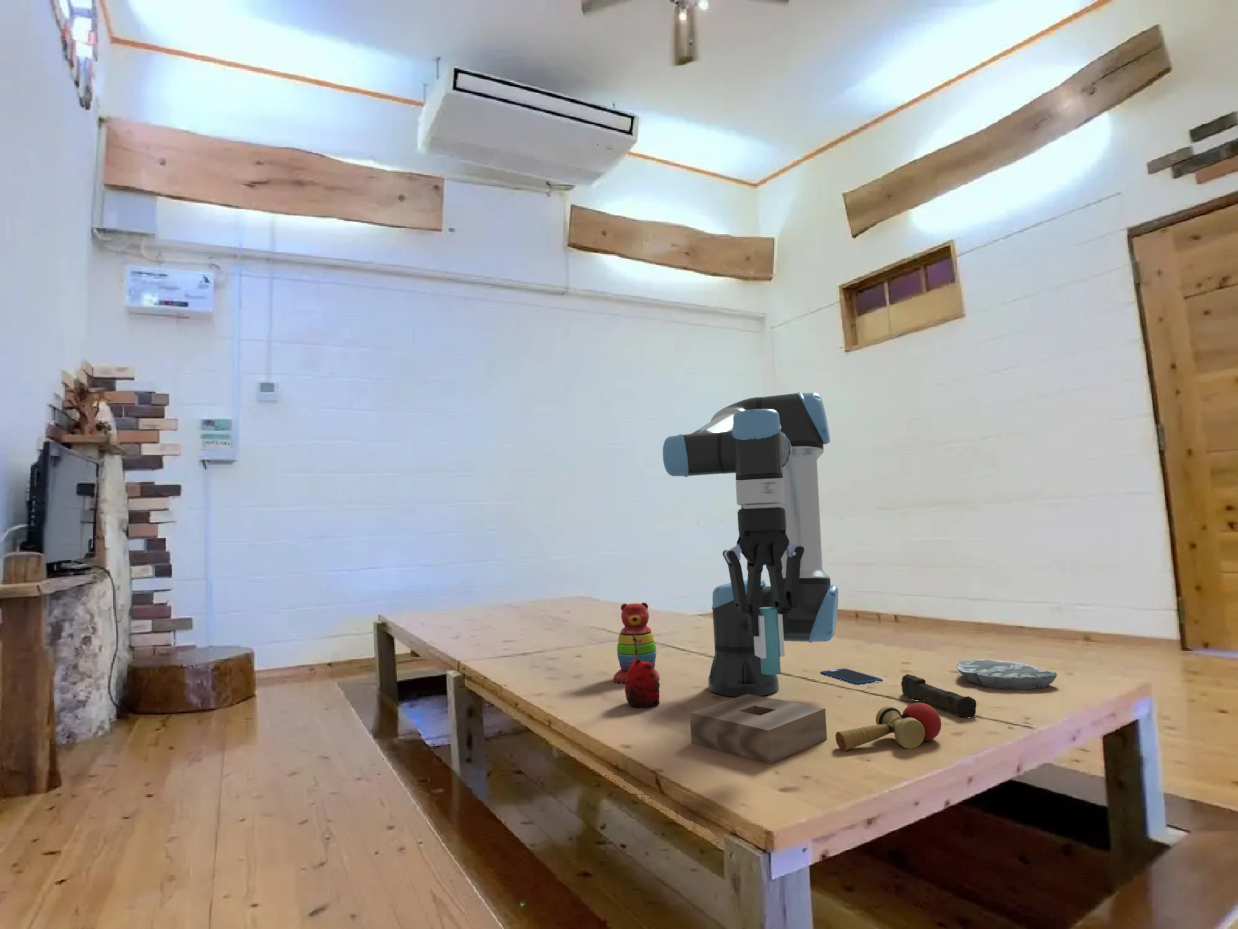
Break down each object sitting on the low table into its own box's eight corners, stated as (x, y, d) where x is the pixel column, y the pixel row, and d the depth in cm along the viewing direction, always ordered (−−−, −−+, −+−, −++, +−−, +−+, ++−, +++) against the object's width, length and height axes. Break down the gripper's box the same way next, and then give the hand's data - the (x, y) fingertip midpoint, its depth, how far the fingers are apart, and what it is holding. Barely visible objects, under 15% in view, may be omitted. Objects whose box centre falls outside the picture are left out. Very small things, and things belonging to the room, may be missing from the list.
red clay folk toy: (667, 704, 146) (664, 629, 147) (645, 711, 140) (642, 634, 141) (639, 698, 151) (636, 626, 152) (617, 706, 145) (614, 631, 147)
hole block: (691, 742, 120) (689, 712, 120) (749, 721, 131) (748, 693, 131) (770, 764, 108) (768, 730, 108) (827, 739, 119) (825, 708, 119)
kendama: (860, 768, 109) (958, 738, 113) (848, 725, 110) (945, 697, 115) (834, 762, 116) (927, 733, 121) (824, 722, 117) (916, 695, 122)
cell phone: (844, 671, 170) (844, 668, 170) (884, 683, 157) (884, 679, 157) (818, 674, 168) (818, 671, 168) (857, 687, 155) (857, 683, 155)
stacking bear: (612, 683, 165) (609, 606, 167) (618, 674, 175) (615, 601, 177) (658, 683, 164) (655, 605, 165) (661, 673, 174) (658, 600, 175)
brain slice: (935, 679, 158) (934, 665, 159) (989, 670, 165) (988, 657, 165) (1015, 698, 141) (1013, 682, 141) (1072, 687, 147) (1071, 672, 147)
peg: (757, 673, 112) (753, 609, 113) (768, 669, 114) (764, 606, 115) (773, 675, 110) (769, 610, 110) (784, 672, 112) (780, 607, 113)
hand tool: (979, 718, 128) (977, 692, 128) (959, 720, 127) (957, 694, 127) (915, 694, 146) (913, 671, 147) (897, 696, 145) (896, 673, 146)
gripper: (724, 508, 108) (733, 665, 107) (816, 504, 112) (826, 655, 110) (706, 509, 115) (715, 655, 114) (794, 504, 119) (802, 646, 118)
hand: (769, 655), depth 112 cm, fingers closed on peg, 2 cm apart
